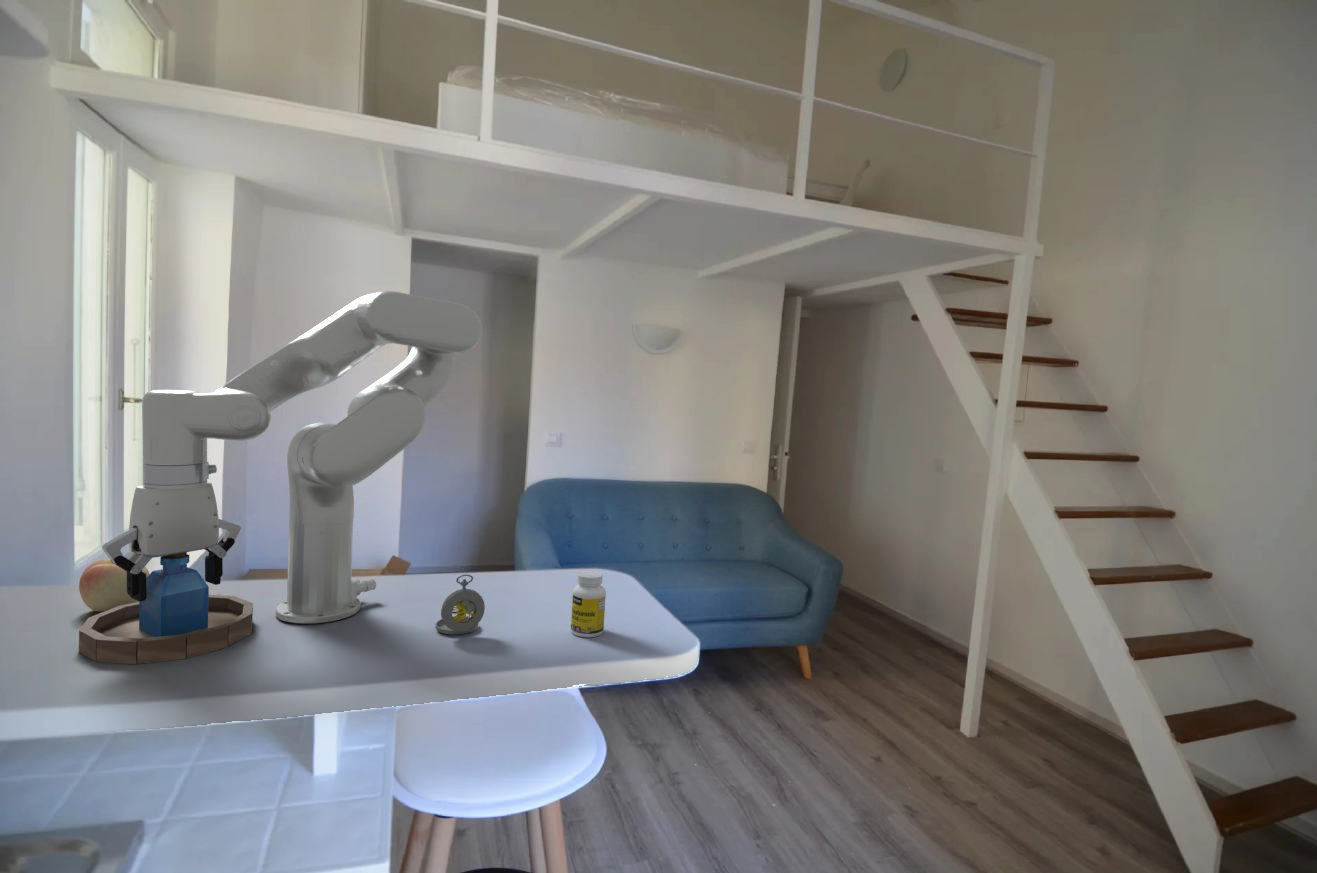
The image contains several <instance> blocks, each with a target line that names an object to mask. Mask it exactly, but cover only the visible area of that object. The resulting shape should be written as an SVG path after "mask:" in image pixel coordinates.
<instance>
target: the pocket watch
mask: <svg viewBox="0 0 1317 873" xmlns="http://www.w3.org/2000/svg"><path fill="white" fill-rule="evenodd" d="M462 577H470V578H471V579H470V580H469V581H467V579H466V578H463V579H462V581H461V582H460V581H459V579H461V578H462ZM473 580H474V577H473V576H472V575H471V574H462V575H460V576H458V577H457V578H456V581H455V582H456V583H457V584H460V586H461V587H462V589H457V590H455V591H453V592H452V593H450V594H449V595H448V596H447V597H446V598H445V600H444V601H443V603H442V606H441V609H440V610H441V611H440V612H441V613H440V617H441V619H439V620H437V621H436V622H435V623H434V624H435V626H434V627H435V628H434V629H435V630H436V631H437V632H439V633H442V634H446V635H462V634H463V635H464V634H467V633H471V632H474V631H475V630H476V629H477V628H478V627H479V624H480V622H481V621H482V619H483V618H484V615H485V614H484V613H485V609H486V607H485V601H484V599H483V597H482V596H481V594H480V593H479V592H478V591H476V590H474V589H471V588H467V586H468V585H469V584H470V583H472V581H473ZM453 614H454V616H453Z"/></svg>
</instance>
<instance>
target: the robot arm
mask: <svg viewBox="0 0 1317 873" xmlns="http://www.w3.org/2000/svg"><path fill="white" fill-rule="evenodd" d="M482 325H483V324H482V322H481V319H480V317H479V316H478V314H477V313H476V312H475V311H474V310H473V309H471V308H470V307H469V306H467V305H465V304H461V303H459V302H454V301H448V300H442V299H435V298H430V297H425V296H419V295H415V294H411V293H405V292H400V291H393V290H386V291H385V290H384V291H378V292H372V293H368V294H365V295H363V296H360V297H358V298H357V299H355V300H353V301H352V302H350V303H348V304H347V305H345V306H344V307H343V308H340V310H337V311H336V312H335V313H334V314H333V315H331V316H329V317H328V318H326V319H325V320H323V321H321V322H320V323H318V324H317V325H315V326H314V327H312V328H311V329H309V330H308V331H306V332H305V333H303V334H302V335H300V336H298V337H296V339H294V340H292V341H290V342H289V343H287V344H286V345H284V346H283V347H281V348H280V349H278V350H277V351H275V352H274V353H272V354H270V355H269V356H267V357H265V358H264V359H262V360H260V361H258V362H257V363H255V364H254V365H252V366H251V367H249V368H248V369H246V370H244V371H243V372H241V373H240V374H238V375H236V376H235V377H234V378H232V379H231V380H229V381H227V382H226V383H224V384H223V385H222V386H220V387H219V388H217V389H216V390H214V391H212V392H209V393H205V392H204V393H202V392H199V391H195V390H188V389H187V390H186V389H185V390H182V389H155V390H154V389H153V390H150V391H147V392H146V393H145V394H144V395H143V397H142V402H141V403H142V404H141V407H142V410H141V412H142V414H141V415H142V473H143V474H142V477H143V478H142V482H143V485H137V486H136V487H135V489H134V493H133V498H132V502H131V510H130V515H129V516H130V517H129V525H128V526H129V527H128V530H126V531H125V532H123V533H121V534H120V535H118V536H116V537H114V538H113V539H111V540H109V541H107V542H105V543H103V545H102V546H101V547H102V548H101V549H102V551H103V552H104V553H105V555H106V556H107V558H109V560H111V562H112V563H114V564H115V565H117V566H119V567H120V568H122V569H123V570H124V571H127V593H128V595H130V596H131V598H133V599H135V600H137V601H145V599H146V573H144V572H142V569H143V568H144V567H146V566H147V565H148V563H149V562H150V561H151V560H152V559H153V558H161V557H162V556H168V555H174V554H180V553H185V552H187V553H190V552H196V551H197V552H198V551H202V550H204V551H205V552H207V553H208V554H207V555H206V556H205V557H204V581H205V582H206V583H209V584H212V585H215V586H217V585H220V584H221V579H222V578H221V577H223V574H224V573H223V572H224V571H223V567H224V566H223V559H224V558H225V557H226V556H227V552H228V551H229V550H230V549H231V548H232V547H233V546H234V545H235V543H236V539H237V537H238V536H239V533H240V531H241V528H242V527H241V525H238V524H235V523H232V522H229V521H226V520H223V519H220V518H219V510H218V503H217V499H216V498H217V497H216V494H215V490H214V487H213V484H212V482H210V481H208V480H209V478H210V477H209V476H210V475H212V474H216V473H217V471H218V470H217V469H218V468H217V465H216V464H210V463H209V461H208V439H213V440H223V441H230V442H231V441H233V442H244V441H245V442H246V441H247V442H248V441H250V440H254V439H256V438H258V437H260V436H262V435H263V434H264V433H265V432H266V430H267V429H268V427H269V426H270V425H271V421H272V420H271V418H272V415H271V412H272V411H274V410H276V409H277V408H278V407H279V406H281V405H283V404H284V403H286V402H288V401H289V400H291V399H293V398H296V397H297V396H299V395H302V394H303V393H307V392H309V391H312V390H315V389H319V388H322V387H325V386H327V385H329V384H331V383H333V382H334V381H336V380H338V379H340V378H341V377H342V376H344V375H345V374H346V373H347V372H348V373H349V371H350V370H351V369H353V368H354V367H356V366H357V365H359V364H360V363H361V362H363V360H365V359H367V358H368V357H369V356H371V355H373V354H374V353H375V352H377V351H378V350H380V349H381V348H383V347H385V346H386V345H388V344H396V345H401V346H406V347H407V346H408V347H410V351H409V354H408V356H407V357H406V358H405V359H404V360H403V361H402V362H401V363H400V364H398V365H397V366H396V367H394V369H392V370H391V371H389V372H388V373H386V374H385V375H384V376H382V377H380V378H379V379H378V380H376V381H375V382H373V383H372V384H370V385H369V386H367V387H366V388H364V389H362V390H361V391H360V392H358V393H357V394H356V395H355V396H354V397H353V398H352V399H351V401H350V402H349V405H348V408H347V416H346V417H345V418H343V419H342V420H341V421H339V422H338V423H336V424H334V423H329V422H316V423H311V424H308V425H306V426H303V427H302V428H300V429H299V430H298V431H297V432H296V433H295V434H294V436H293V437H292V438H291V440H290V442H289V446H288V448H287V453H286V454H287V455H286V457H287V459H286V460H287V461H286V462H287V465H286V466H287V475H288V477H287V478H288V487H289V489H288V490H289V517H288V518H289V520H288V548H287V549H288V550H287V556H288V557H287V586H286V588H287V590H286V591H287V592H286V593H287V594H286V600H284V601H283V602H281V603H280V604H278V605H277V606H276V607H275V616H276V617H277V619H279V620H280V621H282V622H285V623H292V624H304V625H305V624H311V625H312V624H321V623H322V624H323V623H329V622H335V621H338V620H339V621H340V620H343V619H345V618H346V619H347V618H349V617H351V616H353V615H355V614H357V613H358V612H359V611H360V610H361V600H360V599H359V598H357V596H360V595H361V593H364V592H365V593H366V592H370V591H374V590H376V588H377V582H376V580H375V579H373V578H369V579H366V580H363V581H362V580H361V581H360V580H359V578H358V579H352V576H353V575H352V571H353V568H352V566H353V565H352V564H353V542H354V541H353V538H354V537H353V535H354V519H355V518H354V517H355V500H354V499H355V498H354V495H355V494H354V487H353V486H355V485H357V484H359V483H361V482H362V481H364V480H366V479H367V478H369V477H371V475H373V474H374V473H375V472H376V471H378V470H379V469H381V468H382V467H383V466H384V465H386V464H387V463H388V462H389V461H390V460H392V459H393V458H394V457H395V456H397V455H398V454H399V453H401V452H402V451H403V450H404V449H406V448H407V447H408V446H409V445H410V444H412V443H413V442H414V441H415V440H416V439H417V438H418V437H419V436H420V434H421V432H422V430H423V429H424V426H425V423H426V419H427V410H426V408H427V406H429V405H430V404H431V403H432V402H433V401H434V400H436V399H437V398H438V397H439V396H440V395H441V394H442V393H444V391H445V390H446V388H447V387H448V385H449V383H450V381H451V379H452V374H453V371H454V365H455V364H454V363H455V354H463V353H467V352H469V351H471V350H473V349H474V348H476V347H477V345H478V344H479V343H480V341H481V338H482V335H483V326H482ZM220 529H222V530H224V531H225V534H224V536H223V537H222V538H221V540H220ZM125 546H128V548H129V551H130V552H132V554H131V555H130V556H129V557H128V558H127V557H125V555H123V552H122V548H124V547H125Z"/></svg>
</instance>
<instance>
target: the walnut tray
mask: <svg viewBox="0 0 1317 873" xmlns="http://www.w3.org/2000/svg"><path fill="white" fill-rule="evenodd" d="M253 609H254V603H253V602H251V601H249V600H246V599H243V598H241V597H238V596H235V595H223V594H220V595H219V594H209V601H208V628H205V629H201V630H197V631H193V632H189V633H185V634H181V635H171V636H162V637H153V636H151V635H149V634H147V633H145V632H143V631H140V630H139V602H135V603H130V604H125V605H120V606H117V607H115V608H112V609H110V610H107V611H101V612H98V613H97V614H95V615H92V616H90V617H88V618H87V619H86V620H85V621H84V622H83V624H82V626H81V627H80V628H79V629H78V652H79V653H80V654H81V655H84V656H85V657H86V658H89V659H91V661H92V660H93V661H94V662H96V663H111V664H114V663H115V664H125V665H126V664H127V665H141V664H150V663H158V662H159V663H160V662H168V661H176V660H184V659H189V658H192V657H196V656H200V655H203V654H207V653H211V652H214V651H218V650H221V649H224V648H228V647H230V646H232V645H233V644H235V643H237V642H238V641H240V640H242V639H243V638H246V637H248V636H249V635H250V634H252V629H253V621H254V619H253V615H254V611H253Z"/></svg>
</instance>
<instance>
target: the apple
mask: <svg viewBox="0 0 1317 873" xmlns="http://www.w3.org/2000/svg"><path fill="white" fill-rule="evenodd" d="M142 572H144V573H146V579H147V577H148V576H149V575H150V571H149V569H148V568H147V567H146V566H145V567H144V568H143V569H142ZM78 588H79V589H78V590H79V595H80V597H81V599H82V601H83V604H85V606H86V607H87V608H88V609H91V611H94V612H98V613H102V612H104V611H107V610H110V609H112V608H115V607H117V606H120V605H125V604H130V603H135V602H139V601H137V600H135V599H133V598H131V596H130V595H128V593H127V571H124V570H123V569H122V568H120V567H119V566H117V565H115V564H114V563H112V562H111V559H105V560H104V559H102V560H97V561H94V562H93V563H91V564H90V565H88V566H87V567H86V568H85V569H84V571H83V572H82V574H81V576H80V578H79V583H78Z"/></svg>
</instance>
